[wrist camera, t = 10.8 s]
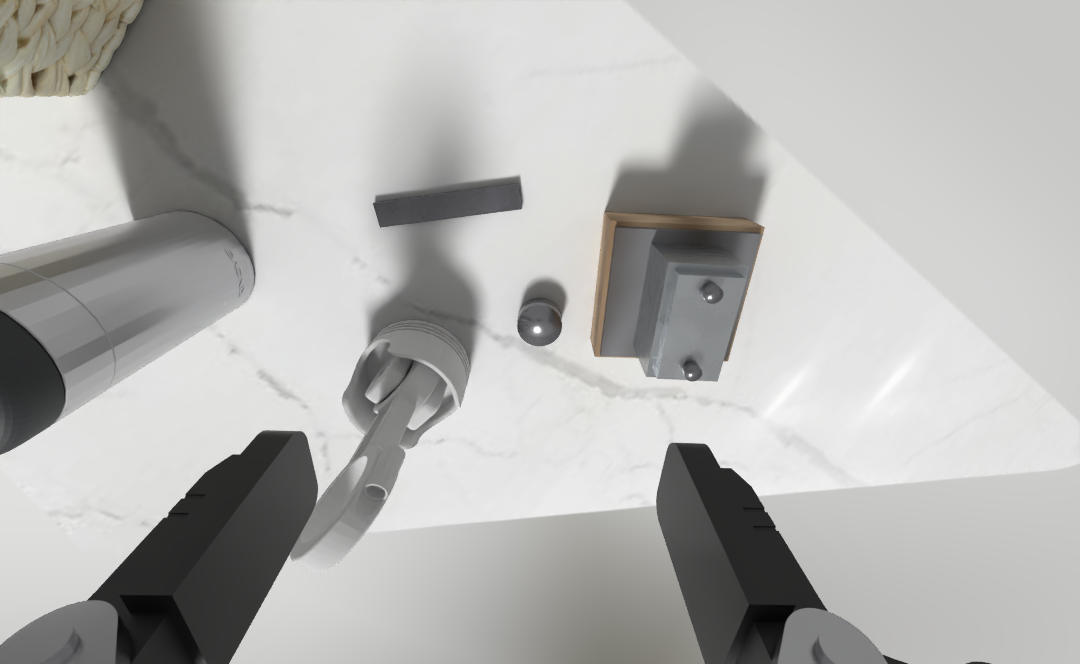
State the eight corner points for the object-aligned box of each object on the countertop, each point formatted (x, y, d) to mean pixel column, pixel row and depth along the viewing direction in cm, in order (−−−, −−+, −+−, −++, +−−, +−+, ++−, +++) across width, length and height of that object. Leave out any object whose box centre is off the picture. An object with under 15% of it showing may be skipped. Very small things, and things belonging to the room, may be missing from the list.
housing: (651, 242, 33) (676, 270, 27) (721, 246, 33) (762, 275, 27) (633, 345, 37) (651, 389, 31) (695, 348, 37) (726, 393, 31)
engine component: (490, 366, 43) (411, 299, 40) (455, 553, 24) (302, 455, 21) (420, 427, 46) (342, 369, 43) (343, 631, 28) (196, 557, 24)
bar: (383, 224, 37) (379, 227, 36) (377, 201, 36) (373, 203, 35) (522, 206, 36) (521, 209, 35) (518, 182, 35) (518, 183, 35)
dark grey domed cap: (518, 335, 41) (517, 345, 40) (518, 297, 40) (517, 305, 38) (559, 336, 41) (560, 346, 40) (561, 298, 40) (562, 306, 38)
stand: (590, 339, 41) (595, 359, 38) (604, 212, 36) (611, 222, 32) (713, 343, 42) (730, 364, 38) (745, 218, 36) (768, 229, 33)
